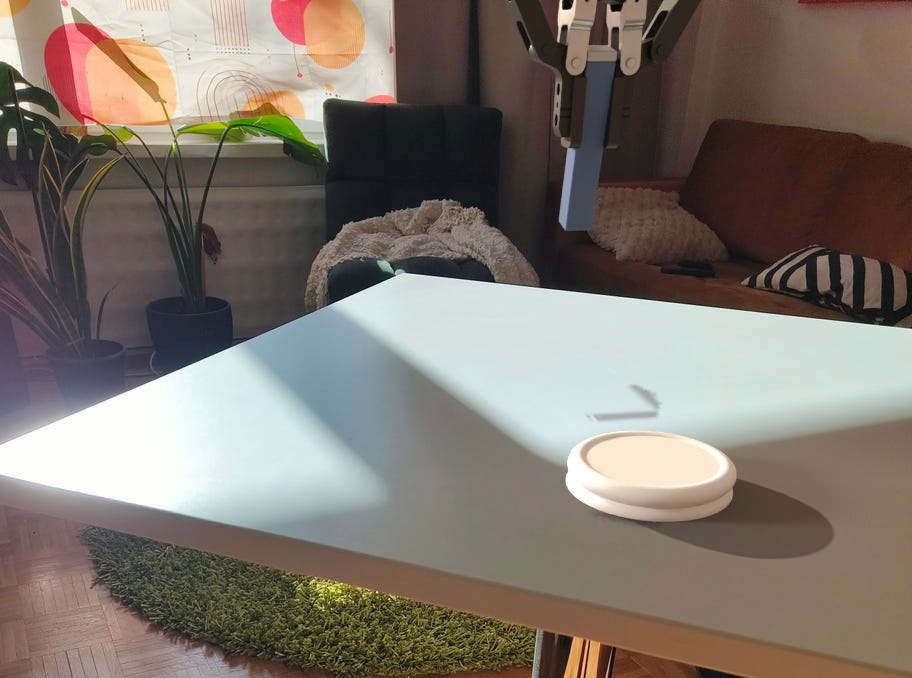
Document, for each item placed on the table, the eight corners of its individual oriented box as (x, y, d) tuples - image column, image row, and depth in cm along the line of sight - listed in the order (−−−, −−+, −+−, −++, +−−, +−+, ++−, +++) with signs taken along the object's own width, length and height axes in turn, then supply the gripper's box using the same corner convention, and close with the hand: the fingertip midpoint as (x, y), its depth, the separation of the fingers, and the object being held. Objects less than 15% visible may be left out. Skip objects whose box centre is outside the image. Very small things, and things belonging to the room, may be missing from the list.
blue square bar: (584, 221, 60) (608, 45, 53) (591, 230, 59) (617, 51, 52) (558, 221, 60) (579, 45, 53) (565, 231, 58) (588, 51, 51)
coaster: (530, 502, 56) (534, 449, 54) (640, 466, 61) (647, 417, 59) (649, 564, 50) (658, 506, 48) (761, 518, 55) (773, 464, 53)
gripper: (509, -266, 42) (494, 154, 51) (784, -252, 43) (719, 151, 53) (477, -226, 48) (469, 143, 57) (719, -215, 50) (671, 140, 59)
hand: (589, 145), depth 55 cm, fingers closed on blue square bar, 2 cm apart
